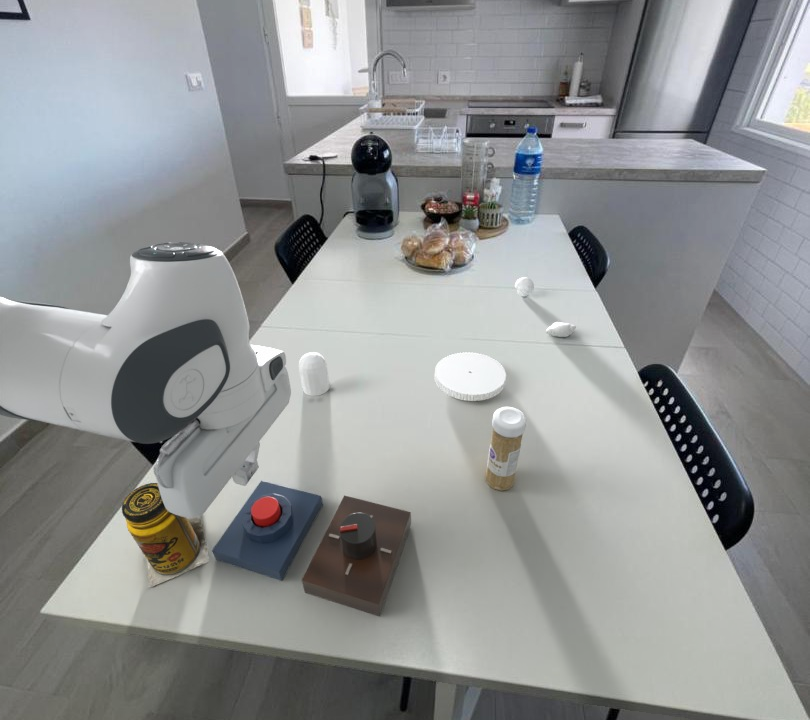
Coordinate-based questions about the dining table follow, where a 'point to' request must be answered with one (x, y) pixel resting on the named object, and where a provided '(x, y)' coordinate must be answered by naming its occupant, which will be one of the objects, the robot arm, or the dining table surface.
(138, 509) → the condiment
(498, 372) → the plastic lid
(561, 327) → the dumpling
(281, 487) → the button housing
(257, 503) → the button
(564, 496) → the dining table surface
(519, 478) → the dining table surface
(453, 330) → the dining table surface
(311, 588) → the dial panel
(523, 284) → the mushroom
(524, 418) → the sprinkles bottle
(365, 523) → the dial
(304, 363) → the capsule
